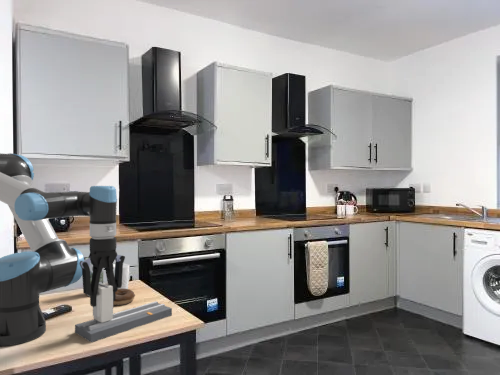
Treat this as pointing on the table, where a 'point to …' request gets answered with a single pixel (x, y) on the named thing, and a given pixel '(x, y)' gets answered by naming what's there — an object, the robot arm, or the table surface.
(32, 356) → the table surface
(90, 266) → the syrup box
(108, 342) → the table surface
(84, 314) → the table surface
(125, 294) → the donut
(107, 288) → the fader knob
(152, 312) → the slider board
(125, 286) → the white cup
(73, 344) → the table surface
